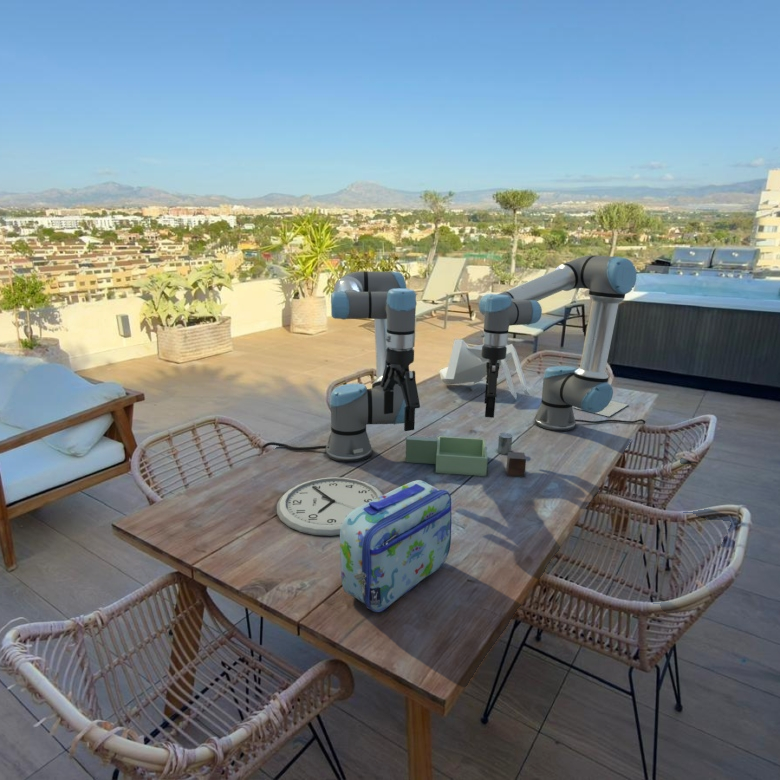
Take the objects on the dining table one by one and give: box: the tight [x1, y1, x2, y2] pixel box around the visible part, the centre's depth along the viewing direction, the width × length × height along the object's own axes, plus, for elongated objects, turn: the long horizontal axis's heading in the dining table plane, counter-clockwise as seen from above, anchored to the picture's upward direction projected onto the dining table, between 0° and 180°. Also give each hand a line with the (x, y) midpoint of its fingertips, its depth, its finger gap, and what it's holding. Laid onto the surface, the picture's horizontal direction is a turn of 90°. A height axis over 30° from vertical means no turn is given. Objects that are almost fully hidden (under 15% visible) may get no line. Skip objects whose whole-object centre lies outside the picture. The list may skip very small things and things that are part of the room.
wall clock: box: [276, 476, 385, 537], centre depth 142 cm, size 30×2×30 cm
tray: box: [405, 435, 489, 477], centre depth 169 cm, size 26×16×8 cm, turn 83°
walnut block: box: [506, 451, 527, 478], centre depth 163 cm, size 5×5×6 cm
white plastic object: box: [438, 338, 531, 400], centre depth 245 cm, size 37×45×31 cm
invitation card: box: [573, 400, 629, 418], centre depth 226 cm, size 21×1×15 cm
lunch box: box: [339, 479, 452, 613], centre depth 109 cm, size 26×11×21 cm, turn 134°
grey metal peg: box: [497, 432, 513, 455], centre depth 178 cm, size 4×4×6 cm
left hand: (398, 421), depth 147 cm, fingers open, 13 cm apart
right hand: (488, 410), depth 168 cm, fingers open, 13 cm apart
